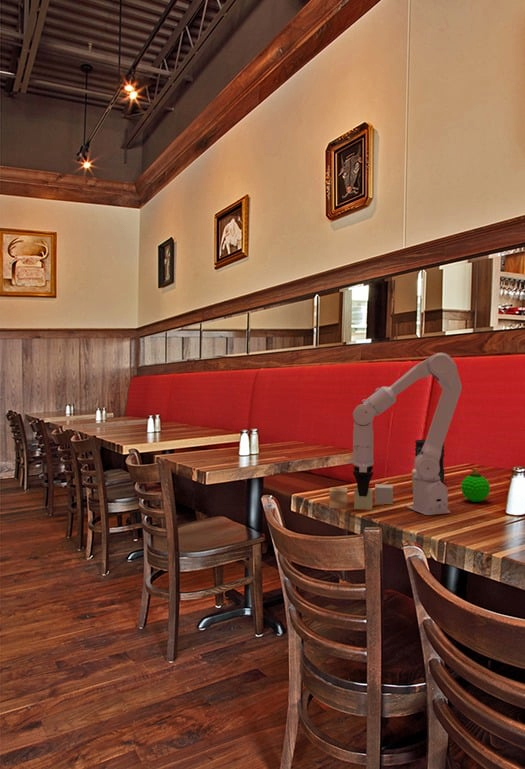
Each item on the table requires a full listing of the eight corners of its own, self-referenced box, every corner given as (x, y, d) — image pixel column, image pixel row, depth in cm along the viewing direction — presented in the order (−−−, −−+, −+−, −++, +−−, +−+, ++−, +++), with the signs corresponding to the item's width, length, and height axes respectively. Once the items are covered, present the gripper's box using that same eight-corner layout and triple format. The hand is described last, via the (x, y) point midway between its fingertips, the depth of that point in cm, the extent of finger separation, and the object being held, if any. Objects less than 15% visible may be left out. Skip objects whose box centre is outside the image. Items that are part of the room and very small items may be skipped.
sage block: (371, 505, 158) (371, 488, 158) (372, 510, 153) (372, 492, 153) (354, 505, 159) (354, 488, 159) (354, 509, 154) (354, 491, 154)
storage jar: (414, 485, 187) (414, 442, 187) (415, 480, 196) (415, 439, 196) (445, 487, 184) (445, 443, 184) (444, 481, 193) (444, 440, 193)
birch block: (347, 505, 159) (347, 488, 159) (347, 509, 154) (347, 491, 154) (330, 504, 160) (330, 487, 160) (329, 508, 155) (329, 490, 155)
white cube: (391, 501, 164) (391, 484, 164) (392, 505, 159) (392, 488, 159) (375, 500, 164) (375, 484, 164) (375, 504, 160) (375, 487, 159)
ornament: (495, 504, 159) (495, 470, 159) (471, 505, 157) (471, 471, 157) (479, 498, 167) (479, 465, 167) (455, 499, 165) (455, 466, 165)
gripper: (349, 442, 163) (349, 487, 164) (348, 449, 149) (348, 498, 149) (373, 443, 162) (373, 488, 162) (374, 449, 148) (374, 499, 148)
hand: (363, 493), depth 156 cm, fingers open, 7 cm apart
